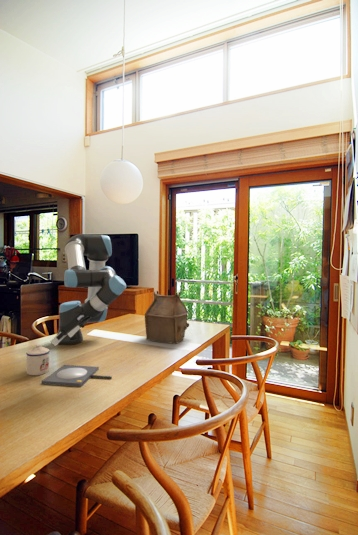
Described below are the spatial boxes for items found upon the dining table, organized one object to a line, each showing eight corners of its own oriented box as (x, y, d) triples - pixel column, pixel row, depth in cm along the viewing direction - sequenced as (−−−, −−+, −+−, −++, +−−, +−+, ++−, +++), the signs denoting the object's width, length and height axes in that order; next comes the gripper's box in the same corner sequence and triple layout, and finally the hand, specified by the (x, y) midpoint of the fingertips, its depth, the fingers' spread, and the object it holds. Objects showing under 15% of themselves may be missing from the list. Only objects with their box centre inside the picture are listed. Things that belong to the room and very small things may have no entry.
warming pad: (41, 383, 116) (41, 380, 116) (64, 367, 134) (64, 364, 133) (104, 388, 113) (104, 384, 113) (118, 370, 131) (118, 367, 131)
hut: (179, 346, 170) (180, 294, 169) (137, 340, 180) (138, 291, 179) (192, 337, 191) (193, 290, 190) (154, 332, 201) (155, 288, 200)
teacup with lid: (43, 376, 123) (43, 348, 123) (21, 375, 123) (21, 347, 123) (55, 365, 135) (56, 340, 135) (35, 365, 135) (36, 339, 135)
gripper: (90, 317, 113) (52, 354, 115) (111, 307, 138) (79, 338, 140) (76, 303, 114) (39, 340, 116) (100, 295, 139) (69, 326, 140)
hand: (61, 339), depth 128 cm, fingers open, 13 cm apart
